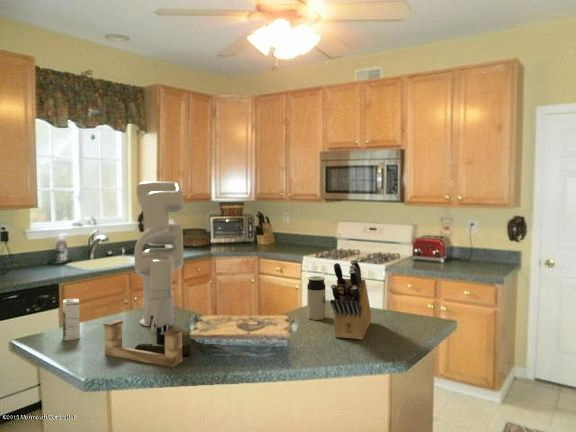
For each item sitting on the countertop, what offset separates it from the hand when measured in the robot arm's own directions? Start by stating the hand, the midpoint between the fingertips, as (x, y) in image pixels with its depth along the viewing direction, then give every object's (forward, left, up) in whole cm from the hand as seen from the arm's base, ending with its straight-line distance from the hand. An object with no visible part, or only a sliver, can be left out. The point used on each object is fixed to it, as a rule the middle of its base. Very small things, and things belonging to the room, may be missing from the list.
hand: (162, 344), depth 161 cm
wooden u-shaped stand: (+10, 0, -1) cm, 11 cm away
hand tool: (+7, +5, -2) cm, 9 cm away
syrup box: (+4, -39, -2) cm, 39 cm away
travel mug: (-58, +38, -2) cm, 69 cm away
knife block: (-43, +58, -2) cm, 72 cm away
